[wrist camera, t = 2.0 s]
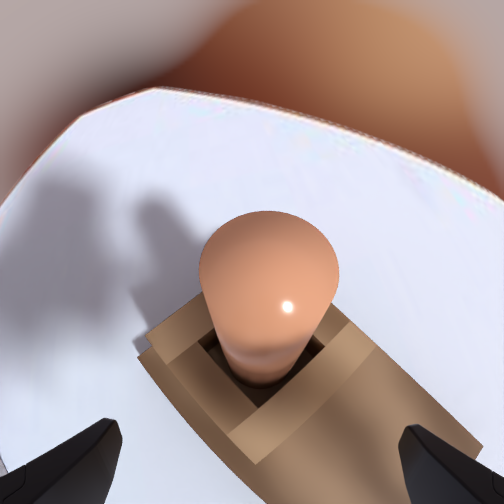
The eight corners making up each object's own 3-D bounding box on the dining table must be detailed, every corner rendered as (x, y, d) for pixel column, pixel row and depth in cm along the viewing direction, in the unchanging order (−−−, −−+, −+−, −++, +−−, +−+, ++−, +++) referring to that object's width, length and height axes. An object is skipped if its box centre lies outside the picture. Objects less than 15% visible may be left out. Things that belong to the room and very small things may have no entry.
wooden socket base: (363, 570, 11) (386, 594, 7) (144, 362, 19) (119, 344, 16) (471, 447, 15) (509, 442, 11) (273, 261, 24) (276, 225, 20)
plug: (257, 402, 17) (266, 365, 7) (213, 354, 18) (171, 260, 9) (306, 357, 18) (365, 269, 9) (261, 313, 20) (271, 192, 10)
